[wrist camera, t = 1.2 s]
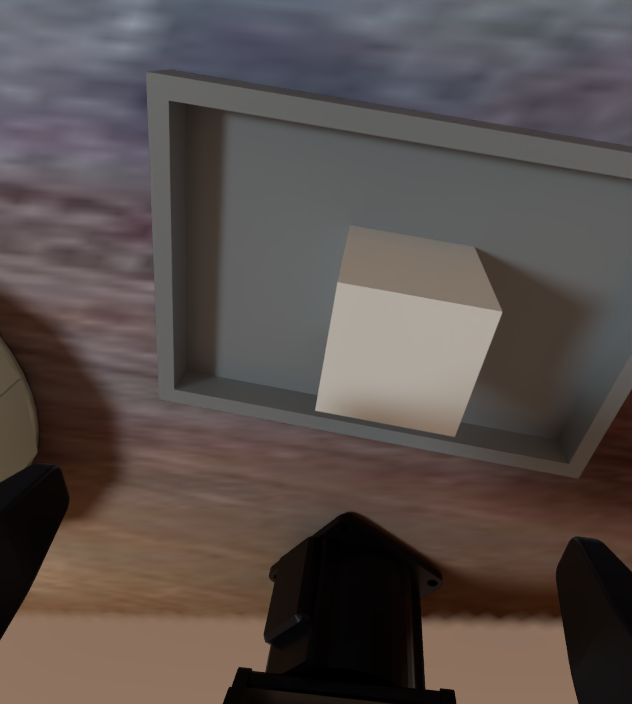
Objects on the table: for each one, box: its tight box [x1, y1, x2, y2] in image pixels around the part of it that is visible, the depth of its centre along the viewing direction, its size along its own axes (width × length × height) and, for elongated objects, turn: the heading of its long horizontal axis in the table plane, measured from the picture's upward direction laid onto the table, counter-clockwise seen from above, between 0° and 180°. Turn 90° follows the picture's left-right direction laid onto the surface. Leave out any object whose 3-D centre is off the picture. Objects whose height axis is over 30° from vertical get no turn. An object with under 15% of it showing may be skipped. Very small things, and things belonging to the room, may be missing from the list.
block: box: [315, 225, 502, 437], centre depth 15 cm, size 4×4×5 cm
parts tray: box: [146, 70, 632, 479], centre depth 16 cm, size 16×11×2 cm
